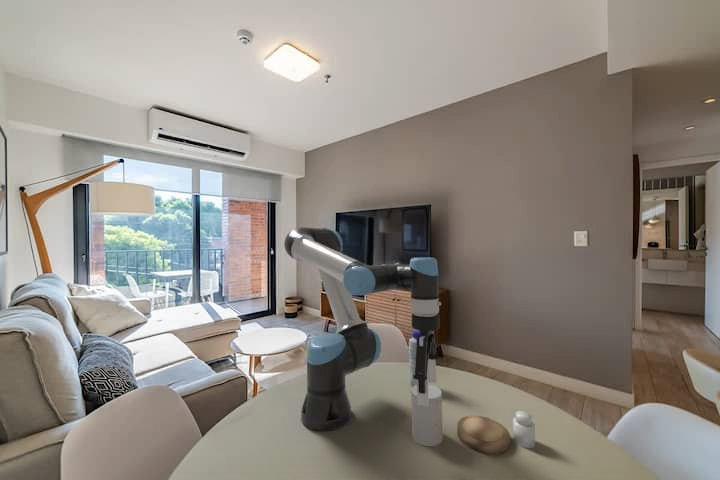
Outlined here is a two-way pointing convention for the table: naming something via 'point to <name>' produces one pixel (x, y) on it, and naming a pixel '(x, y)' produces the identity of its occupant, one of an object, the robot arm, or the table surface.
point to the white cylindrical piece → (427, 417)
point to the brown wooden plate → (483, 434)
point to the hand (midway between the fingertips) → (427, 392)
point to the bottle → (413, 357)
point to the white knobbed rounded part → (524, 430)
